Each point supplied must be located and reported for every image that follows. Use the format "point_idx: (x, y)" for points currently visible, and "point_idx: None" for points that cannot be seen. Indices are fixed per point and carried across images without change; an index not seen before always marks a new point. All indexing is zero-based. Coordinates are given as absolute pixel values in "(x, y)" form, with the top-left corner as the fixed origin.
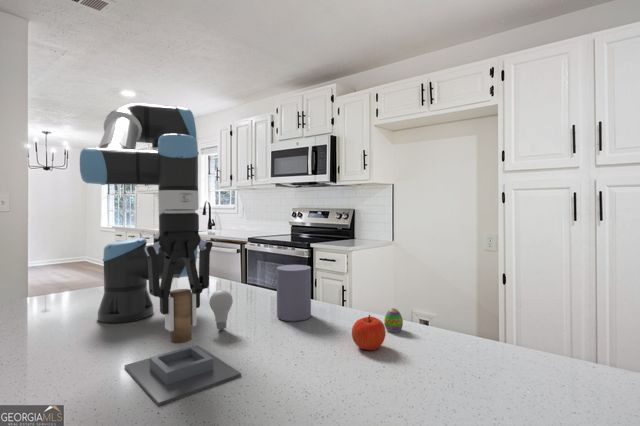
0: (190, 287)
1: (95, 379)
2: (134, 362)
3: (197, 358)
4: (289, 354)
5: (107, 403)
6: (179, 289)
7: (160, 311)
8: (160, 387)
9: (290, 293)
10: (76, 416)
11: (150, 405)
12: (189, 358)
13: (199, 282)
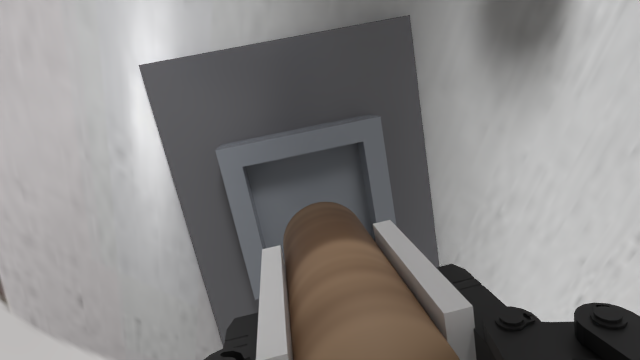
0: (492, 345)
1: (51, 111)
2: (173, 59)
3: (367, 192)
4: (605, 236)
5: (107, 286)
6: (395, 337)
7: (229, 331)
8: (239, 288)
9: None
10: (38, 316)
11: (210, 340)
12: (348, 152)
13: (601, 358)
